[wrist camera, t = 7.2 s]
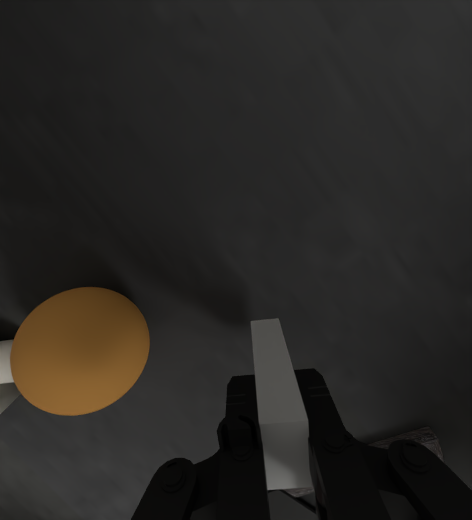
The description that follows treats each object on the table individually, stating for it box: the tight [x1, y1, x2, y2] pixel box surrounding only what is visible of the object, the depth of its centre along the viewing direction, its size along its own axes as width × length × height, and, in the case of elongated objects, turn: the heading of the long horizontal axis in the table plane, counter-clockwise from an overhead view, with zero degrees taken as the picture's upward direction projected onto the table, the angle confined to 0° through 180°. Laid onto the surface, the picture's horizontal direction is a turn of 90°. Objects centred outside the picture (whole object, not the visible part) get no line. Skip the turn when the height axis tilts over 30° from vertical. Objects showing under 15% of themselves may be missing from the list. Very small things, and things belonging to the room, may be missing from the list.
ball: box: [10, 287, 150, 416], centre depth 14 cm, size 6×6×6 cm
